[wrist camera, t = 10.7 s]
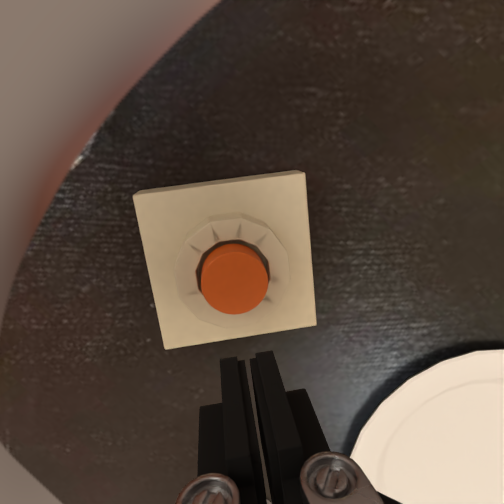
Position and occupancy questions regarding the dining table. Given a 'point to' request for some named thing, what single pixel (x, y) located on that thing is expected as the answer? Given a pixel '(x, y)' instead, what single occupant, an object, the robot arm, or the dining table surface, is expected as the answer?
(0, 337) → the dining table surface
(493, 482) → the plate
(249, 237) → the square push button base
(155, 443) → the dining table surface
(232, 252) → the button
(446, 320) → the dining table surface
